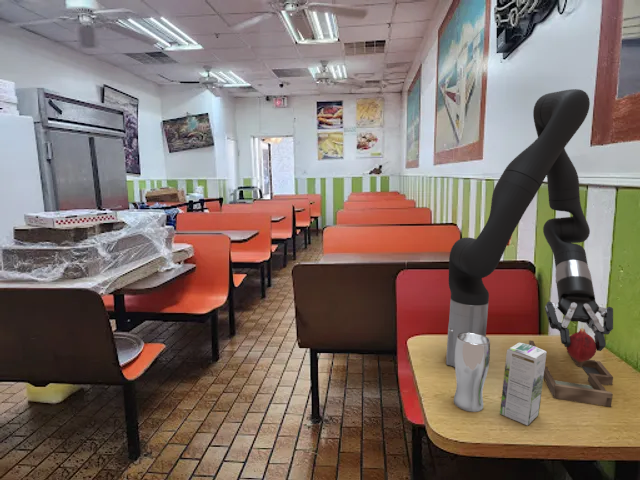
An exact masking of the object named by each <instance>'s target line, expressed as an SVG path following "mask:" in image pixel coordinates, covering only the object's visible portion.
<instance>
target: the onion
mask: <svg viewBox="0 0 640 480" xmlns="http://www.w3.org/2000/svg"><path fill="white" fill-rule="evenodd" d="M570 343H571V344H570V346H569V347H565V348H566V351H568V352H567V353H568V355H569V354H570V355H571V356H570V355H569V356H570V357H573V358H574V359H575V360H576V361H577V362H583V361H586V360H589V359H590V360H592V358H593V357H594V356H595V355H596V353H597V349H596V344H595V339H594V338H593V337H592V336H591V335H590V334H588V333H587V332H586V329H585V328H584V327H582V328H580V329H579V331H578V332H575V333H572V334H571V335H570Z"/></svg>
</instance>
